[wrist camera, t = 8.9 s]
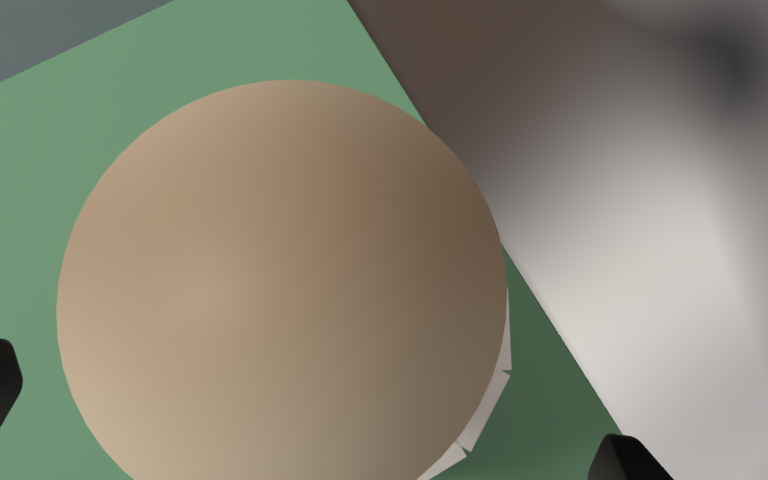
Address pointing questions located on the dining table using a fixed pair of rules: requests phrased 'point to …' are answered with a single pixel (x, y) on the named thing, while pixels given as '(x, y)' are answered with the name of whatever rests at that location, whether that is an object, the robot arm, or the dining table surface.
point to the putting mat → (136, 115)
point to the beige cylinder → (282, 292)
